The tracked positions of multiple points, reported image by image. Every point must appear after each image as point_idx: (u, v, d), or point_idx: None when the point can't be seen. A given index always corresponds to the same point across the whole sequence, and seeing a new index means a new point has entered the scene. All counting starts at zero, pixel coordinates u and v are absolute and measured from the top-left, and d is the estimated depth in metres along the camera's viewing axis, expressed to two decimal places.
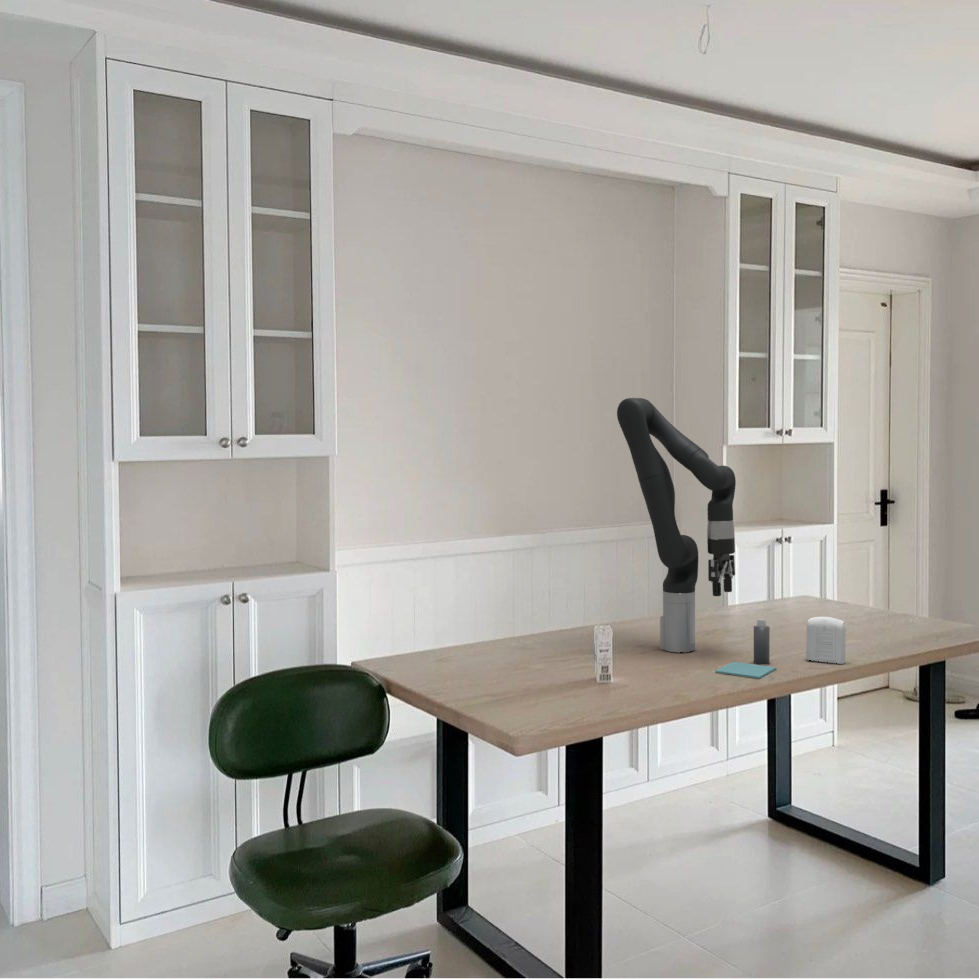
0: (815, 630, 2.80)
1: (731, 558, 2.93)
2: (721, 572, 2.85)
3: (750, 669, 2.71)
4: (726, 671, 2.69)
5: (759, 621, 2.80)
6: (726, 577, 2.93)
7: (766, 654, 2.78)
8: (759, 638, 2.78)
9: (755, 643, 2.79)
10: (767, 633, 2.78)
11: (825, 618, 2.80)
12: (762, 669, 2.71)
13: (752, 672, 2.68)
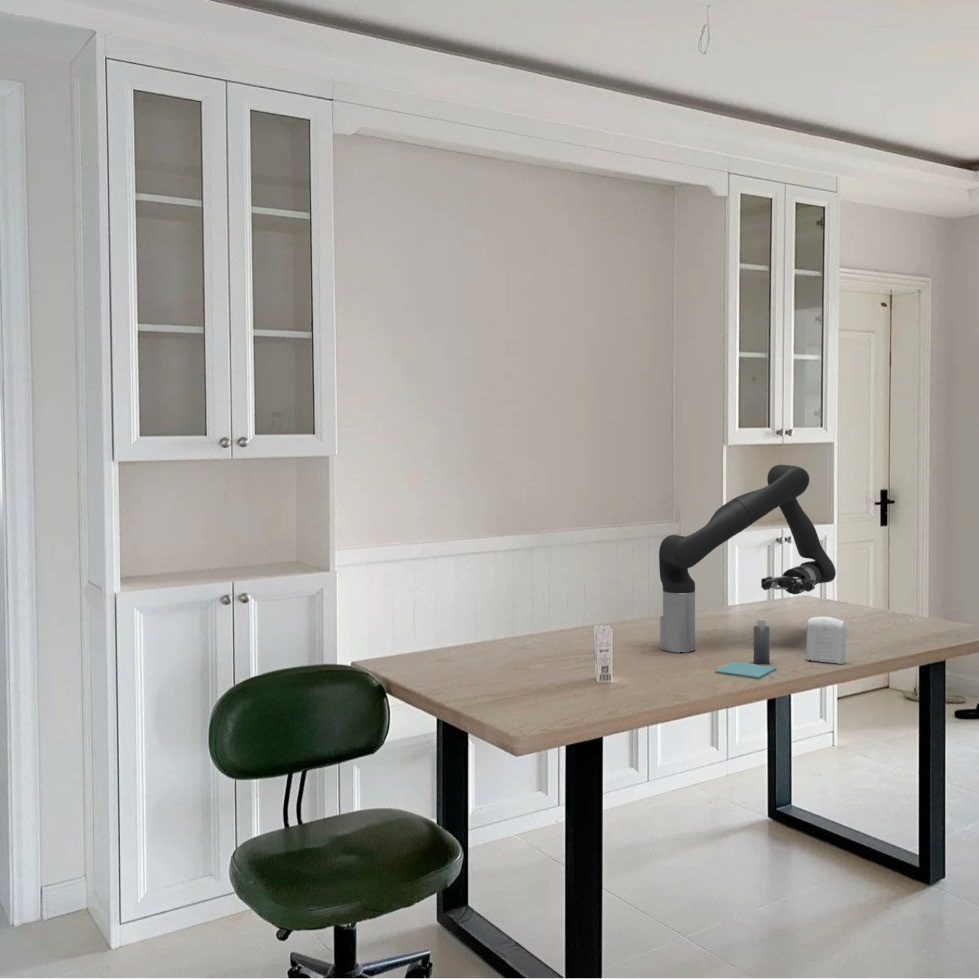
0: (815, 630, 2.80)
1: (771, 584, 3.01)
2: None
3: (750, 669, 2.71)
4: (726, 671, 2.69)
5: (759, 621, 2.80)
6: (770, 583, 2.96)
7: (766, 654, 2.78)
8: (759, 638, 2.78)
9: (755, 643, 2.79)
10: (767, 633, 2.78)
11: (825, 618, 2.80)
12: (762, 669, 2.71)
13: (752, 672, 2.68)
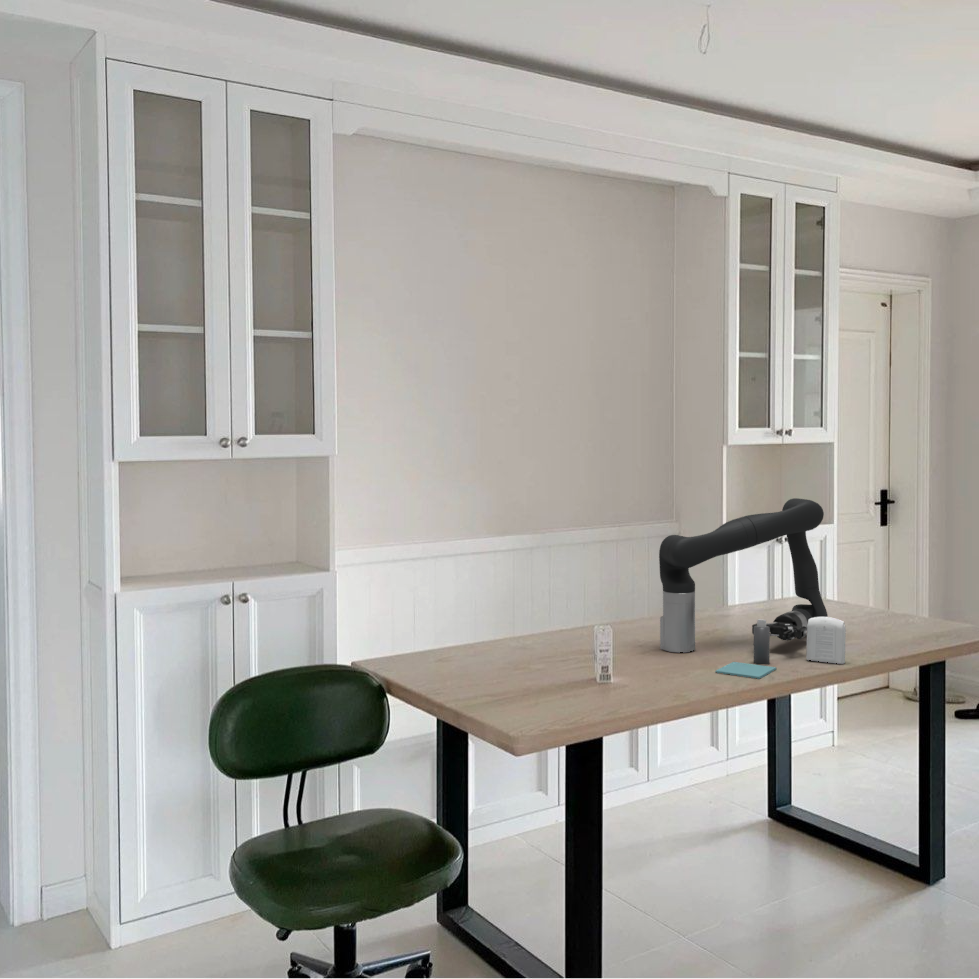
0: (815, 630, 2.80)
1: None
2: None
3: (750, 669, 2.71)
4: (726, 671, 2.69)
5: (759, 621, 2.80)
6: None
7: (766, 654, 2.78)
8: (759, 638, 2.78)
9: (755, 643, 2.79)
10: (767, 633, 2.78)
11: (825, 618, 2.80)
12: (762, 669, 2.71)
13: (752, 672, 2.68)
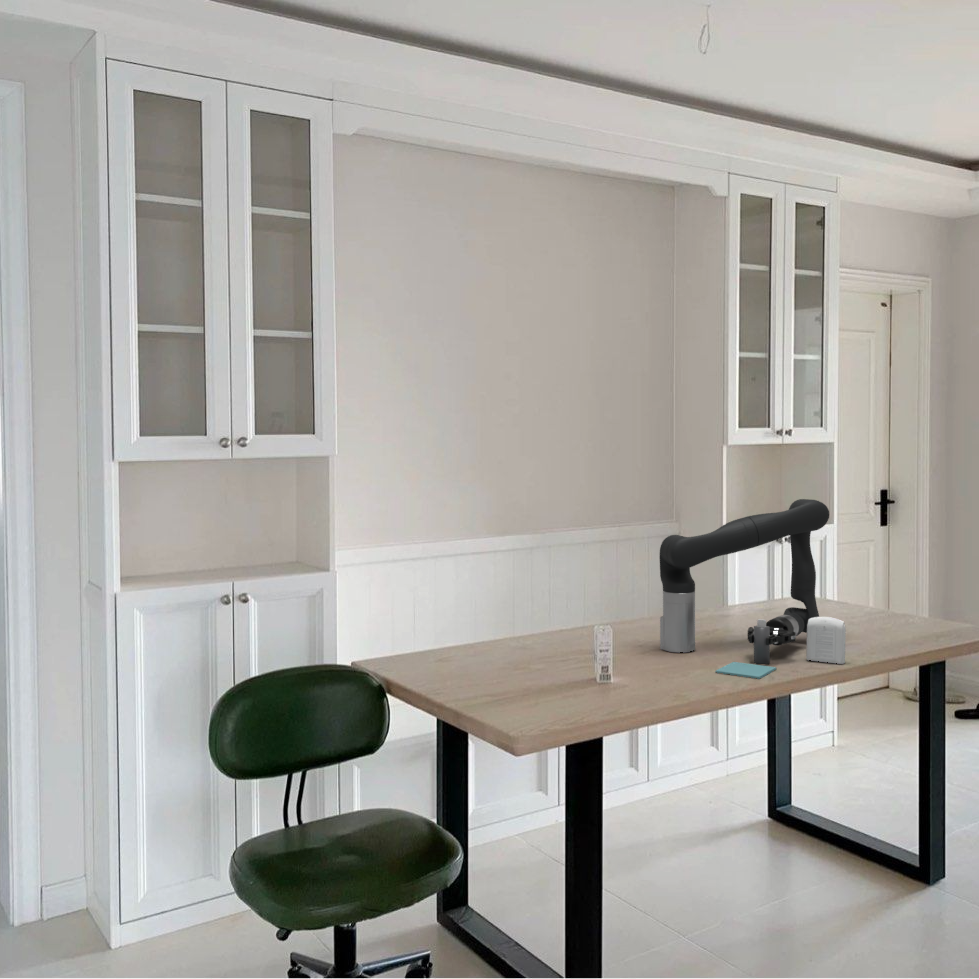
0: (815, 630, 2.80)
1: None
2: None
3: (750, 669, 2.71)
4: (726, 671, 2.69)
5: (759, 621, 2.80)
6: None
7: (766, 654, 2.78)
8: (760, 638, 2.78)
9: (755, 643, 2.79)
10: (767, 633, 2.78)
11: (825, 618, 2.80)
12: (762, 669, 2.71)
13: (752, 672, 2.68)
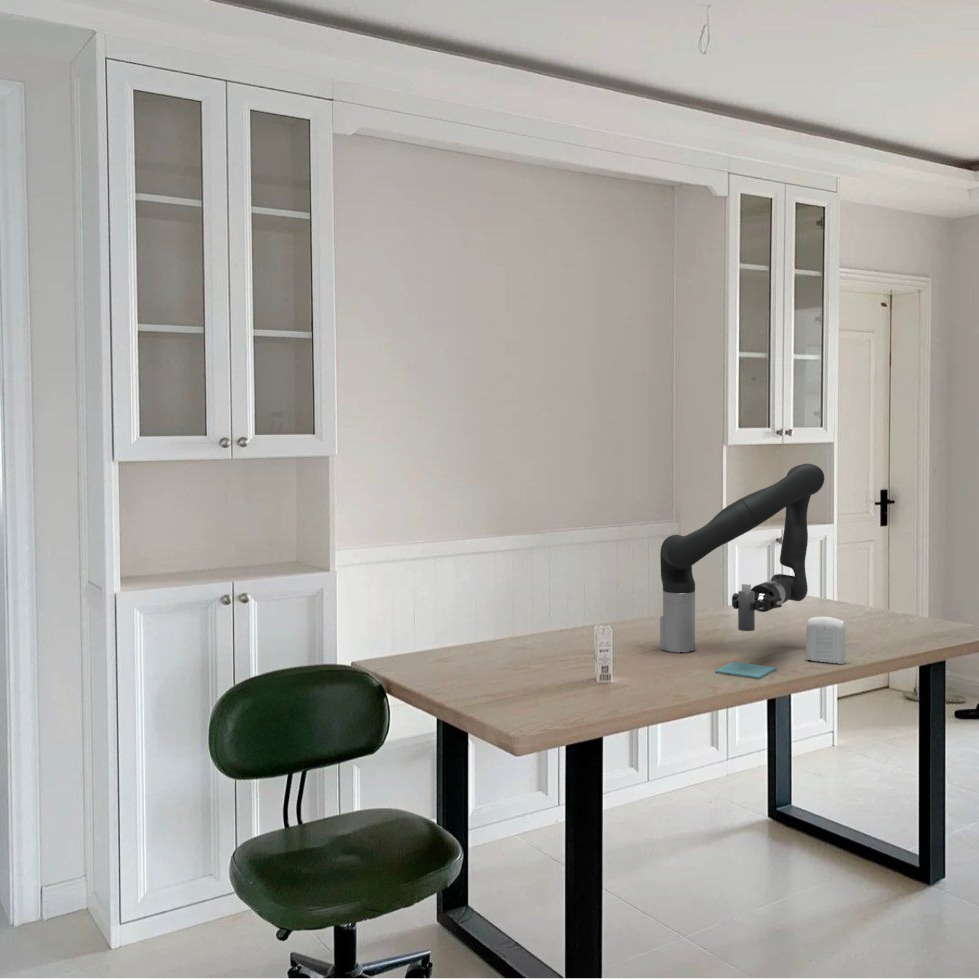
0: (815, 630, 2.80)
1: None
2: (763, 607, 2.73)
3: (750, 669, 2.71)
4: (726, 671, 2.69)
5: (744, 586, 2.70)
6: None
7: (750, 620, 2.69)
8: (744, 603, 2.69)
9: (740, 609, 2.70)
10: (752, 598, 2.69)
11: (825, 618, 2.80)
12: (762, 669, 2.71)
13: (752, 672, 2.68)
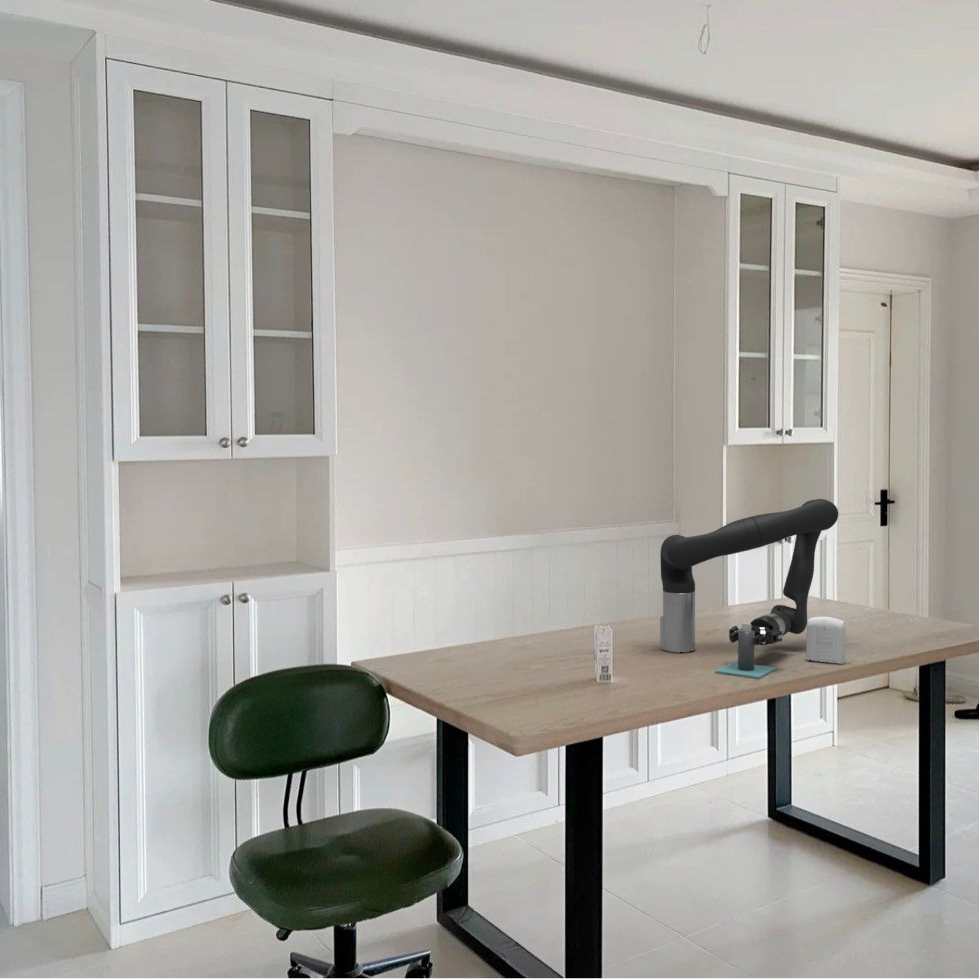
0: (815, 630, 2.80)
1: None
2: None
3: None
4: (726, 671, 2.69)
5: (744, 625, 2.71)
6: None
7: (750, 660, 2.70)
8: (744, 643, 2.70)
9: (740, 648, 2.71)
10: (752, 637, 2.70)
11: (825, 618, 2.80)
12: (762, 669, 2.71)
13: (752, 672, 2.68)
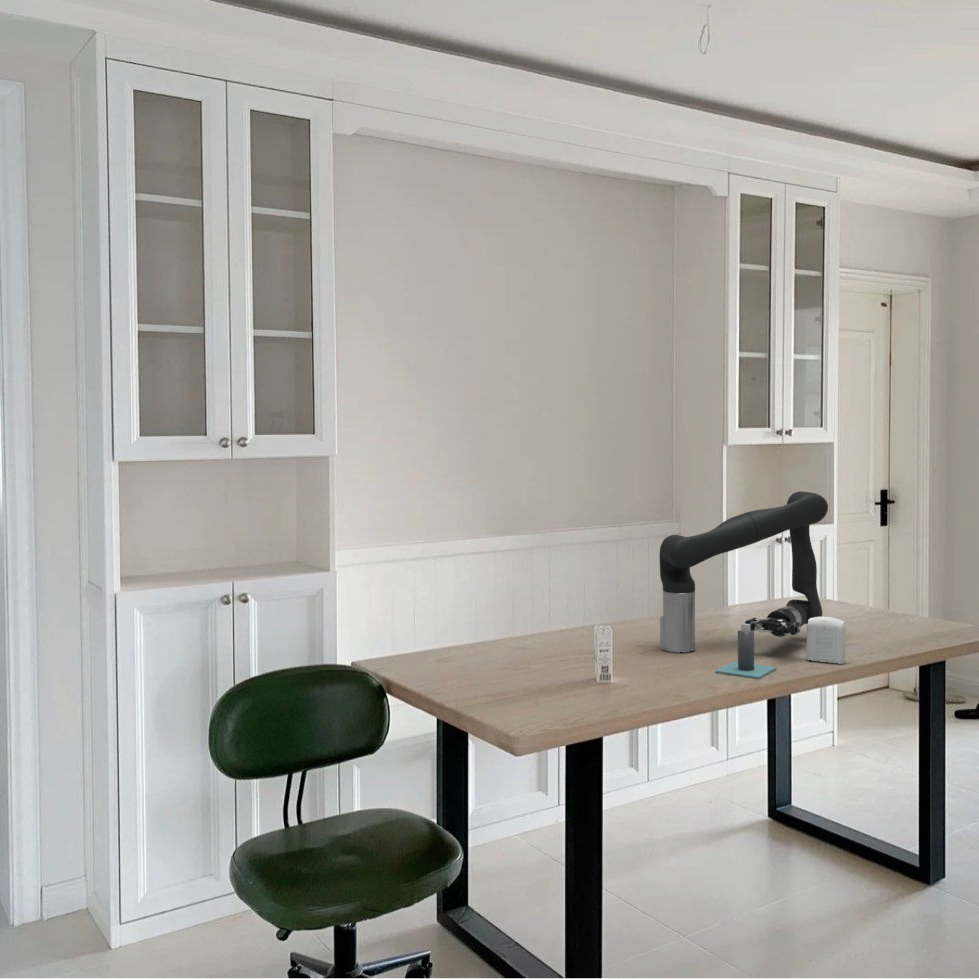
0: (815, 630, 2.80)
1: None
2: None
3: None
4: (726, 671, 2.69)
5: (743, 626, 2.71)
6: (754, 625, 2.87)
7: (750, 660, 2.70)
8: (743, 643, 2.69)
9: (739, 648, 2.70)
10: (751, 638, 2.69)
11: (825, 618, 2.80)
12: (762, 669, 2.71)
13: (752, 672, 2.68)
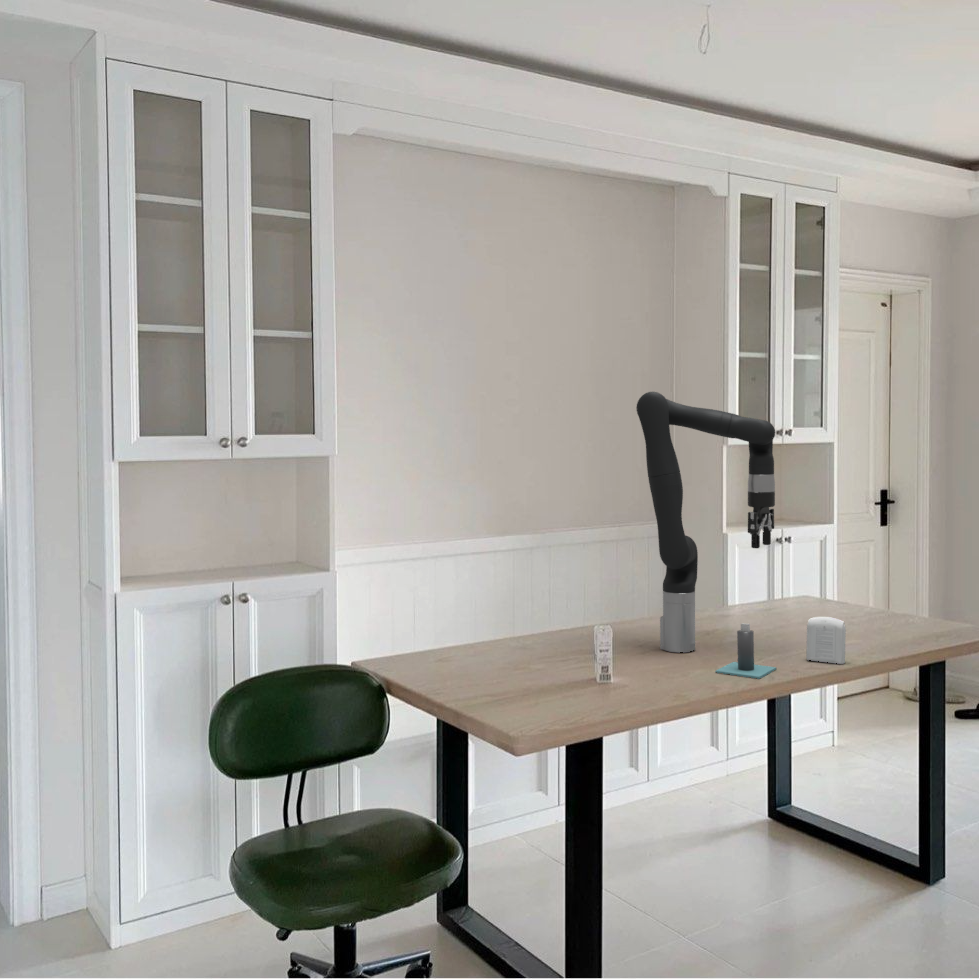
0: (815, 630, 2.80)
1: (771, 512, 2.98)
2: (760, 525, 2.90)
3: None
4: (726, 671, 2.69)
5: (742, 625, 2.71)
6: (765, 530, 2.97)
7: (750, 660, 2.70)
8: (743, 643, 2.70)
9: (739, 648, 2.71)
10: (751, 637, 2.70)
11: (825, 618, 2.80)
12: (762, 669, 2.71)
13: (752, 672, 2.68)
